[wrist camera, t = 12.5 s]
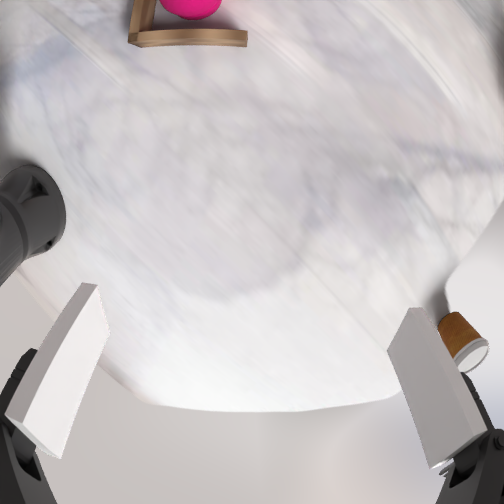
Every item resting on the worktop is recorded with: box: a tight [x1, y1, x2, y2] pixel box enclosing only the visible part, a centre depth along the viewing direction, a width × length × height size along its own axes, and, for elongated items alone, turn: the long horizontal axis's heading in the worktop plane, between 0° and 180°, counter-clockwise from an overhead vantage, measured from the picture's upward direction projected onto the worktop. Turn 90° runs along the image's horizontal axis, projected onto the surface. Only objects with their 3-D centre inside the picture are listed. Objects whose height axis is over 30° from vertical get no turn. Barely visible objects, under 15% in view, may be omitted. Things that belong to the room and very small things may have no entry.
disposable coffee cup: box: [438, 312, 489, 374], centre depth 47 cm, size 10×10×12 cm
